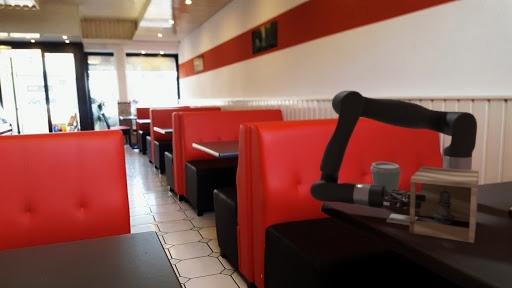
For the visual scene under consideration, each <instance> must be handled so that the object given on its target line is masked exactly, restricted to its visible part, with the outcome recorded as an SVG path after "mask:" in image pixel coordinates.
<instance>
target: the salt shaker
mask: <svg viewBox="0 0 512 288" xmlns="http://www.w3.org/2000/svg"><path fill="white" fill-rule="evenodd" d="M438 204H439V210H438V212H437V213H434V214H433V216H434V217H433V219H434V220H435V223H437V224H444V225H451V224H453V222H454V221H455V220H454V218H455V216H454V215H452V214H451V213H450V205H451V203H450V193H449V192H447V191H446V189H444V191H441V192H440V195H439V202H438Z"/></svg>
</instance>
